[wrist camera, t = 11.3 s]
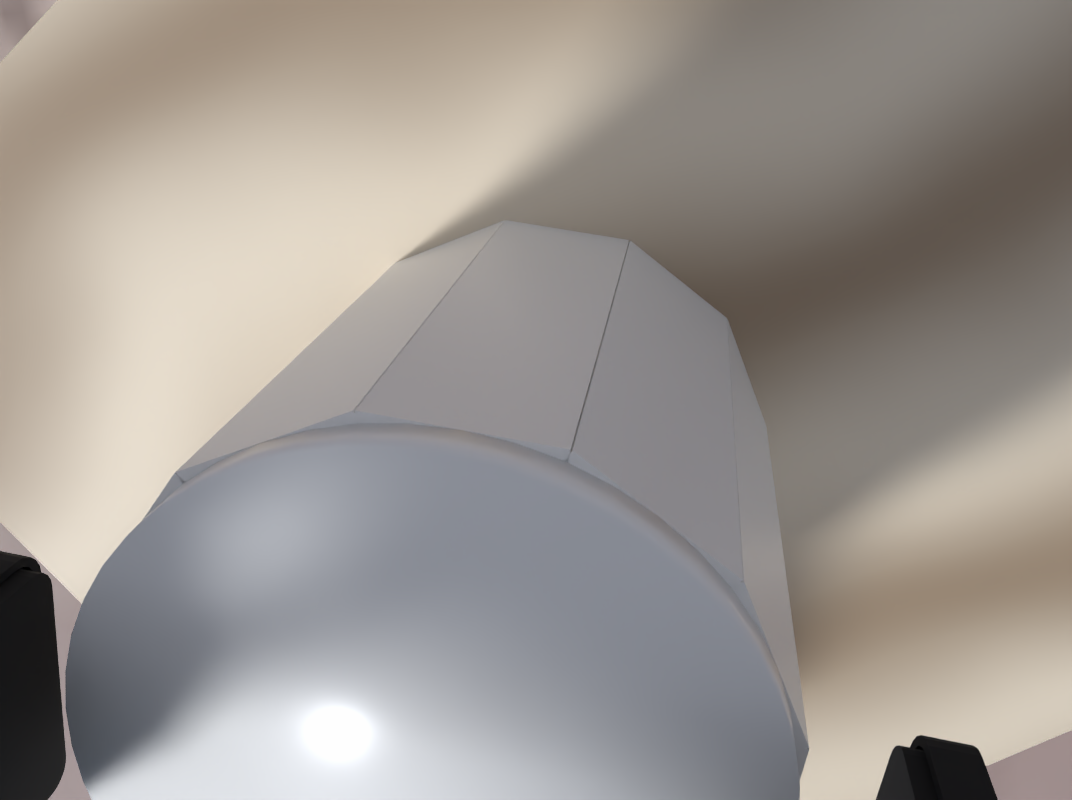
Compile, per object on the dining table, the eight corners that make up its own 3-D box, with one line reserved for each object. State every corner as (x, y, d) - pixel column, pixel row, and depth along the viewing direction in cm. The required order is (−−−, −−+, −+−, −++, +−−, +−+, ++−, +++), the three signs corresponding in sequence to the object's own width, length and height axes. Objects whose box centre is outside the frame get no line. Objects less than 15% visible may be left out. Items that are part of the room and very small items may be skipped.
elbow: (805, 267, 15) (893, 537, 8) (675, 801, 20) (658, 1280, 13) (339, 193, 16) (37, 378, 9) (316, 725, 21) (103, 1138, 13)
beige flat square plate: (1358, 537, 17) (1740, 869, 11) (477, 928, 24) (397, 1268, 18) (681, -610, 13) (659, -1178, 6) (-156, 278, 20) (-562, 426, 14)
